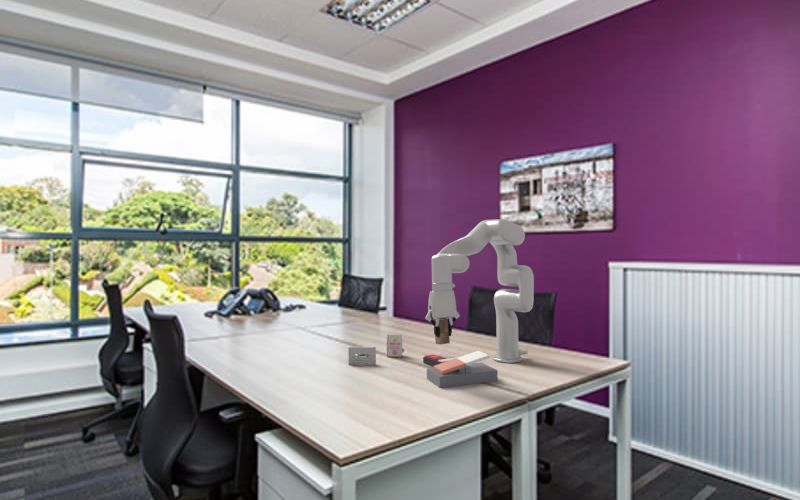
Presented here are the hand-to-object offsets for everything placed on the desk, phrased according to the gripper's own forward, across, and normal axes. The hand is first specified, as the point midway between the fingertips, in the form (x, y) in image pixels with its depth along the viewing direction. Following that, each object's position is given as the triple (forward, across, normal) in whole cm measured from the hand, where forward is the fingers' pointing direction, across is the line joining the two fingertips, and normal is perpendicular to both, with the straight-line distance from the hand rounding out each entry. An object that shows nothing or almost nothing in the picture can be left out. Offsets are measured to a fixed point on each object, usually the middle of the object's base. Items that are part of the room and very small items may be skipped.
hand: (443, 335), depth 170 cm
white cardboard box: (+18, +5, -45) cm, 48 cm away
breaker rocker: (+12, -7, 0) cm, 14 cm away
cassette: (+18, +23, -36) cm, 46 cm away
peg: (+3, 0, 0) cm, 3 cm away
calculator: (+18, -10, -22) cm, 30 cm away
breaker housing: (+18, -7, 0) cm, 19 cm away
